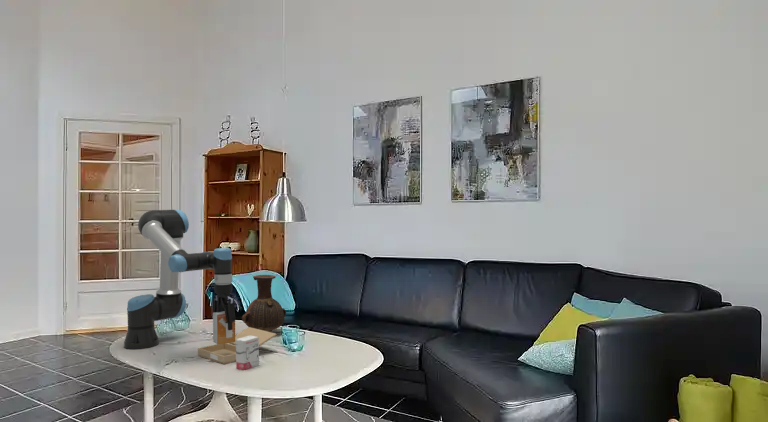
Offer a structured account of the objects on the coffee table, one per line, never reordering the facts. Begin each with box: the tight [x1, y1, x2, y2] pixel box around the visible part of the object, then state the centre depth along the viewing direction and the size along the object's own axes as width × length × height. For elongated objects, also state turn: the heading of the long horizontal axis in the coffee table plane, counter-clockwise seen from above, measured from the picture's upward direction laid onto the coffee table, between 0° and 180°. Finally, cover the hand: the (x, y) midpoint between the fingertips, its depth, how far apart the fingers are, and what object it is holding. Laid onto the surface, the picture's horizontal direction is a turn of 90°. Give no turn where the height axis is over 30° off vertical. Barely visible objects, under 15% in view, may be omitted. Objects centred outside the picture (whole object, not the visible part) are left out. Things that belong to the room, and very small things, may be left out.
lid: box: [228, 326, 277, 347], centre depth 250 cm, size 22×14×1 cm, turn 47°
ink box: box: [235, 336, 260, 371], centre depth 224 cm, size 9×5×12 cm, turn 148°
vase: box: [241, 274, 287, 333], centre depth 283 cm, size 25×20×30 cm
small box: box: [212, 310, 236, 345], centre depth 240 cm, size 8×6×13 cm
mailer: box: [197, 343, 236, 365], centre depth 240 cm, size 21×14×3 cm, turn 47°
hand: (224, 336), depth 240 cm, fingers closed on small box, 7 cm apart
